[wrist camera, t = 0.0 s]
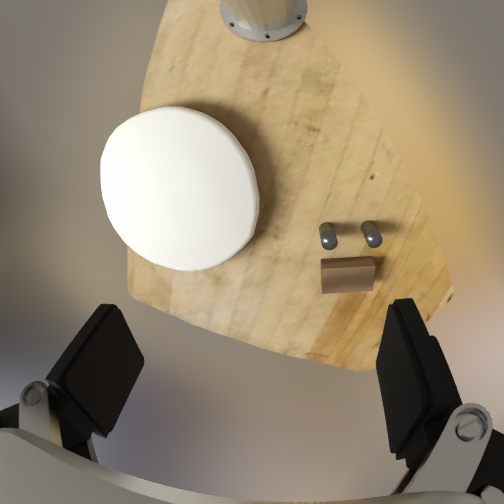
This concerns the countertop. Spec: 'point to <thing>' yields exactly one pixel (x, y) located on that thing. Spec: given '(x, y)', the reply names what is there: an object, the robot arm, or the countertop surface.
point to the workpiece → (347, 274)
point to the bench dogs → (367, 229)
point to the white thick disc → (179, 188)
